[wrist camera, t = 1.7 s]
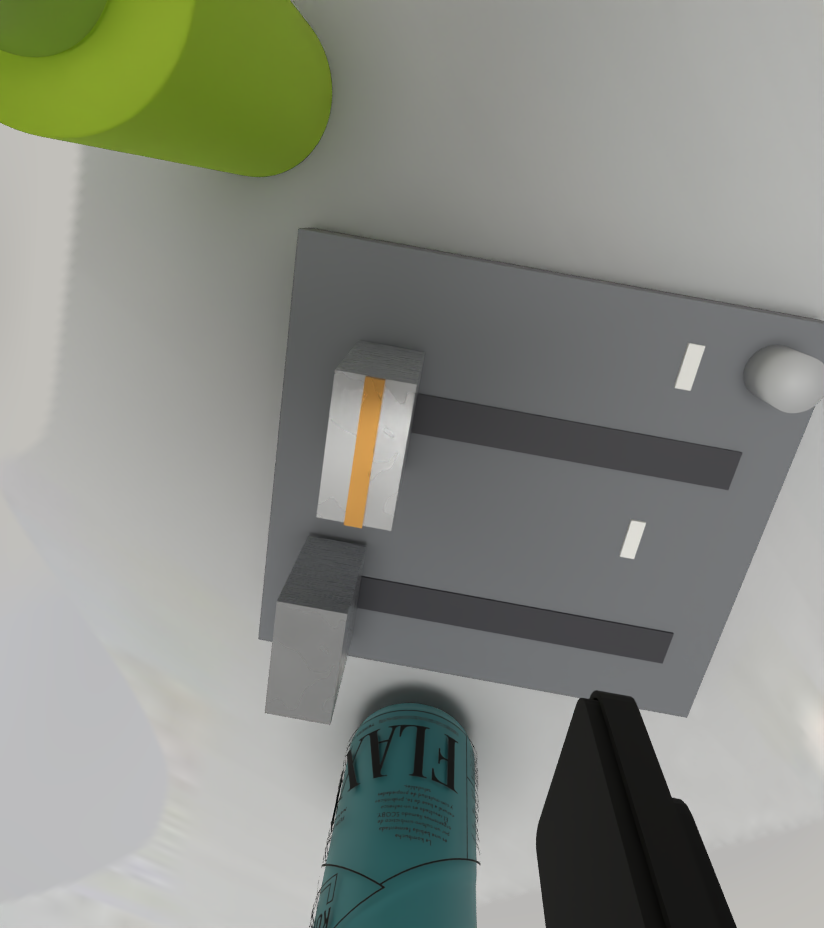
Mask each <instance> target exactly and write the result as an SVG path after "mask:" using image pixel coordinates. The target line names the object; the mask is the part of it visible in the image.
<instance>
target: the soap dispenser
mask: <svg viewBox="0 0 824 928" xmlns="http://www.w3.org/2000/svg"><path fill="white" fill-rule="evenodd" d="M331 103H332V80H331V73H330V68H329V64H328V61H327V57H326V55H325V52H324V49H323V47H322V45H321V43H320V41H319V39H318V37H317V36H316V34H315V32H314V31H313V30H312V28H311V27H310V25H309V24H308V23H307V22H306V20H305V19H304V18H303V16H302V15H301V14H300V13H299V11H298V10H297V9H296V8H295V6H294V5H293V4H292V2H291V1H290V0H0V123H2V124H4V125H7V126H9V127H11V128H14V129H16V130H19V131H22V132H25V133H29V134H33V135H37V136H41V137H46V138H52V139H57V140H62V141H67V142H73V143H78V144H83V145H88V146H93V147H98V148H103V149H109V150H114V151H119V152H124V153H129V154H135V155H140V156H145V157H150V158H155V159H161V160H166V161H171V162H176V163H181V164H187V165H192V166H197V167H202V168H207V169H213V170H218V171H223V172H228V173H233V174H239V175H244V176H250V177H267V176H273V175H277V174H280V173H283V172H285V171H287V170H289V169H291V168H293V167H295V166H296V165H298V164H299V163H300V162H302V161H303V160H304V159H305V158H306V157H307V156H308V155H309V154H310V153H311V152H312V151H313V149H314V148H315V147H316V145H317V144H318V142H319V140H320V139H321V137H322V135H323V133H324V130H325V128H326V125H327V122H328V119H329V115H330V110H331Z"/></svg>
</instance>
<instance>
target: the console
mask: <svg viewBox="0 0 824 928" xmlns="http://www.w3.org/2000/svg"><path fill="white" fill-rule="evenodd" d="M359 340H360V341H365V342H371V343H376V344H382V345H387V346H393V347H398V348H404V349H409V350H415V351H420V352H425V354H424V360H423V366H422V371H421V377H420V383H419V388H418V394H417V400H416V405H415V411H414V417H413V422H412V428H411V434H410V439H409V445H408V451H407V456H406V462H405V468H404V473H403V478H402V483H401V487H400V492H399V497H398V501H397V506H396V510H395V515H394V520H393V524H392V529H391V531H389V530H383V529H378V528H373V527H367V526H362V528H357V527H351V526H346V525H344V522H340V521H334V520H329V519H323V518H318V517H316V516H317V508H318V500H319V492H320V484H321V476H322V469H323V461H324V453H325V445H326V437H327V429H328V421H329V413H330V405H331V398H332V390H333V382H334V374H335V369H336V368H337V367H338V366H339V364H340V363H341V362H342V361H343V359H344V358H345V357H346V356H347V354H348V353H349V352H350V351H351V349H352V348H353V347H354V346H355V345H356V343H357V342H358V341H359ZM823 397H824V321H821V320H817V319H812V318H806V317H801V316H795V315H790V314H784V313H779V312H773V311H768V310H762V309H757V308H751V307H746V306H740V305H734V304H729V303H723V302H718V301H712V300H707V299H701V298H696V297H690V296H685V295H679V294H674V293H668V292H663V291H657V290H652V289H646V288H641V287H635V286H630V285H624V284H618V283H613V282H607V281H602V280H596V279H591V278H585V277H580V276H574V275H569V274H563V273H558V272H552V271H547V270H541V269H536V268H530V267H525V266H519V265H514V264H508V263H502V262H497V261H491V260H486V259H480V258H475V257H469V256H464V255H458V254H453V253H447V252H442V251H436V250H431V249H425V248H420V247H414V246H409V245H403V244H398V243H392V242H386V241H381V240H375V239H370V238H364V237H359V236H353V235H348V234H342V233H337V232H331V231H326V230H320V229H315V228H300V229H298V239H297V249H296V259H295V270H294V280H293V290H292V300H291V310H290V321H289V331H288V341H287V351H286V362H285V372H284V382H283V392H282V403H281V413H280V423H279V433H278V443H277V454H276V464H275V474H274V484H273V495H272V505H271V515H270V525H269V535H268V546H267V556H266V566H265V576H264V587H263V597H262V607H261V617H260V627H259V638H258V639H260V640H266V641H271V642H272V641H273V632H274V623H275V613H276V604H277V600H278V598H279V596H280V593H281V591H282V589H283V587H284V585H285V583H286V581H287V579H288V577H289V574H290V572H291V570H292V568H293V566H294V564H295V562H296V560H297V558H298V555H299V553H300V551H301V549H302V547H303V545H304V543H305V541H306V539H307V536H313V537H319V538H324V539H330V540H335V541H341V542H346V543H352V544H357V545H363V546H366V552H365V558H364V564H363V571H362V577H361V583H360V589H359V596H358V602H357V608H356V614H355V620H354V627H353V633H352V639H351V644H350V648H349V652H348V656H353V657H358V658H364V659H369V660H375V661H380V662H386V663H391V664H397V665H402V666H408V667H413V668H419V669H424V670H429V671H435V672H440V673H446V674H451V675H457V676H462V677H468V678H473V679H479V680H484V681H490V682H495V683H500V684H506V685H511V686H517V687H522V688H528V689H533V690H539V691H544V692H550V693H555V694H561V695H566V696H572V697H577V698H587V699H589V698H590V696H591V694H592V693H593V691H595V690H598V691H604V692H609V693H615V694H620V695H626V696H631V697H632V698H634V700H635V701H636V703H637V706H638V709H643V710H648V711H653V712H659V713H664V714H670V715H675V716H681V717H686V718H687V716H688V714H689V711H690V709H691V706H692V704H693V701H694V699H695V697H696V694H697V692H698V689H699V687H700V684H701V682H702V680H703V677H704V675H705V672H706V670H707V667H708V665H709V663H710V660H711V658H712V655H713V653H714V650H715V648H716V646H717V643H718V641H719V638H720V636H721V633H722V631H723V629H724V626H725V624H726V621H727V619H728V616H729V614H730V612H731V609H732V607H733V604H734V602H735V599H736V597H737V595H738V592H739V590H740V587H741V585H742V582H743V580H744V578H745V575H746V573H747V570H748V568H749V565H750V563H751V561H752V558H753V556H754V553H755V551H756V548H757V546H758V544H759V541H760V539H761V536H762V534H763V531H764V529H765V527H766V524H767V522H768V519H769V517H770V514H771V512H772V510H773V507H774V505H775V502H776V500H777V497H778V495H779V493H780V490H781V488H782V485H783V483H784V480H785V478H786V476H787V473H788V471H789V468H790V466H791V463H792V461H793V459H794V456H795V454H796V451H797V449H798V446H799V444H800V442H801V439H802V437H803V434H804V432H805V429H806V427H807V425H808V422H809V420H810V417H811V415H812V412H813V410H814V408H815V405H816V404H818V403H819V402H820V401H821V399H822V398H823Z"/></svg>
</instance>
